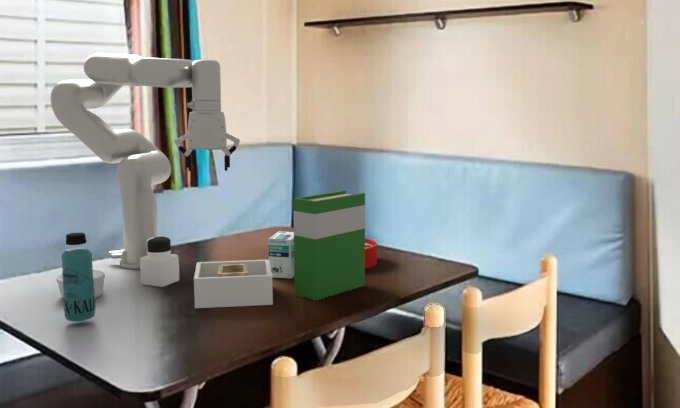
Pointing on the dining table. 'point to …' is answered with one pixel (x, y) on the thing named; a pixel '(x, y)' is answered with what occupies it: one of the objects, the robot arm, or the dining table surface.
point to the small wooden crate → (232, 270)
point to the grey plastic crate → (233, 285)
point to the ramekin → (97, 278)
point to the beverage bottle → (78, 280)
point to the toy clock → (370, 253)
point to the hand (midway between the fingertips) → (208, 170)
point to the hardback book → (329, 244)
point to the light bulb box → (281, 254)
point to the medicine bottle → (159, 263)
